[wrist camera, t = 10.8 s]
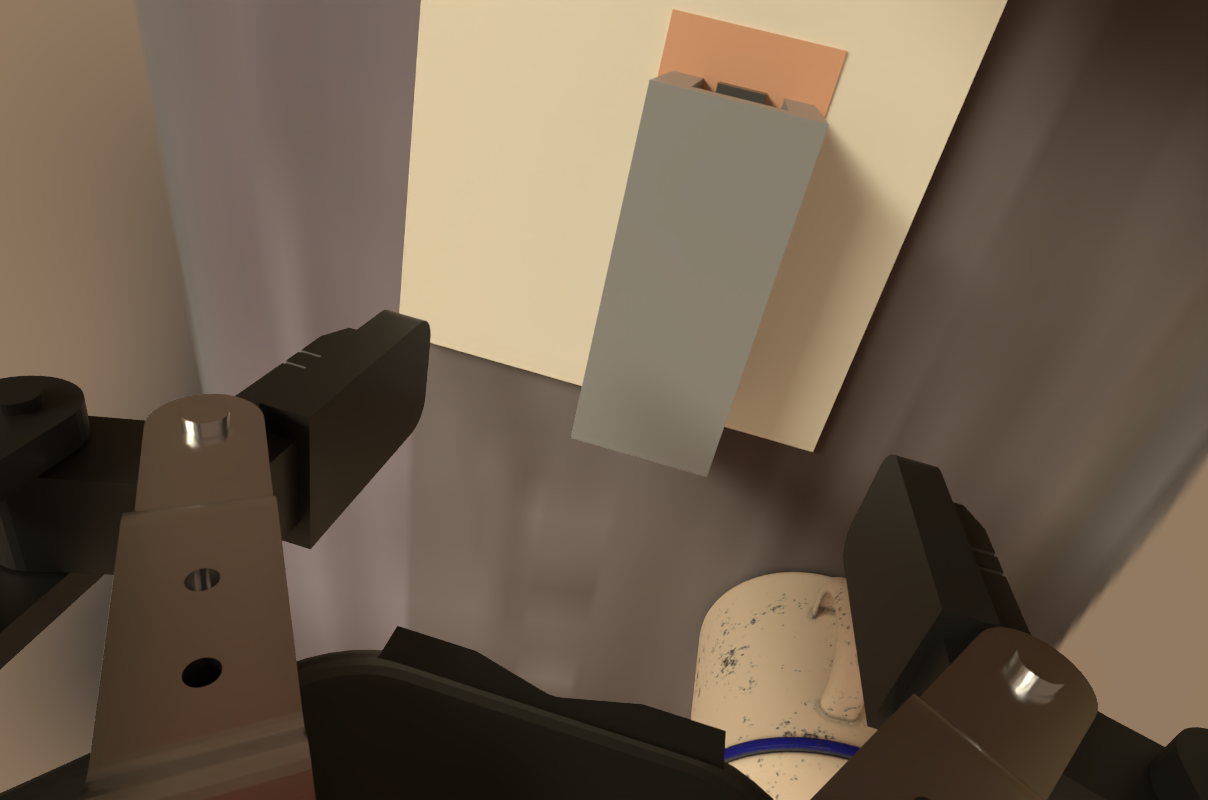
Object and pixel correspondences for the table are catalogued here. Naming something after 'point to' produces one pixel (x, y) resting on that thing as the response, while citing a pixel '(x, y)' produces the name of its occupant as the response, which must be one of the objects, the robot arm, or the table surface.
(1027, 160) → the table surface
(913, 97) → the board
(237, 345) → the table surface
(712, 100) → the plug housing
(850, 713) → the teacup with lid
